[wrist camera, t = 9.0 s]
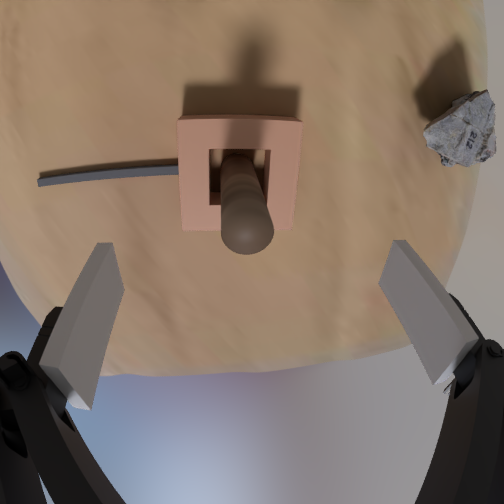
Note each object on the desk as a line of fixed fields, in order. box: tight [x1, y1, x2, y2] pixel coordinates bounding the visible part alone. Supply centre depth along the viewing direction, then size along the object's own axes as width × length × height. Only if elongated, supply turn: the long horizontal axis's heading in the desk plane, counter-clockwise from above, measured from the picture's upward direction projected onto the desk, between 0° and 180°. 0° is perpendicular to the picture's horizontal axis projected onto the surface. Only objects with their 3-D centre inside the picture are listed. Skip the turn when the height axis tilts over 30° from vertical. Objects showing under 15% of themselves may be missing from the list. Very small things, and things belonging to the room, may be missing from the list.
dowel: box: [221, 154, 274, 255], centre depth 22 cm, size 3×3×12 cm
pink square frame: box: [177, 115, 303, 231], centre depth 25 cm, size 10×10×3 cm
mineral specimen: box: [423, 89, 496, 167], centre depth 23 cm, size 10×8×10 cm
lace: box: [37, 164, 179, 187], centre depth 25 cm, size 1×16×1 cm, turn 88°
